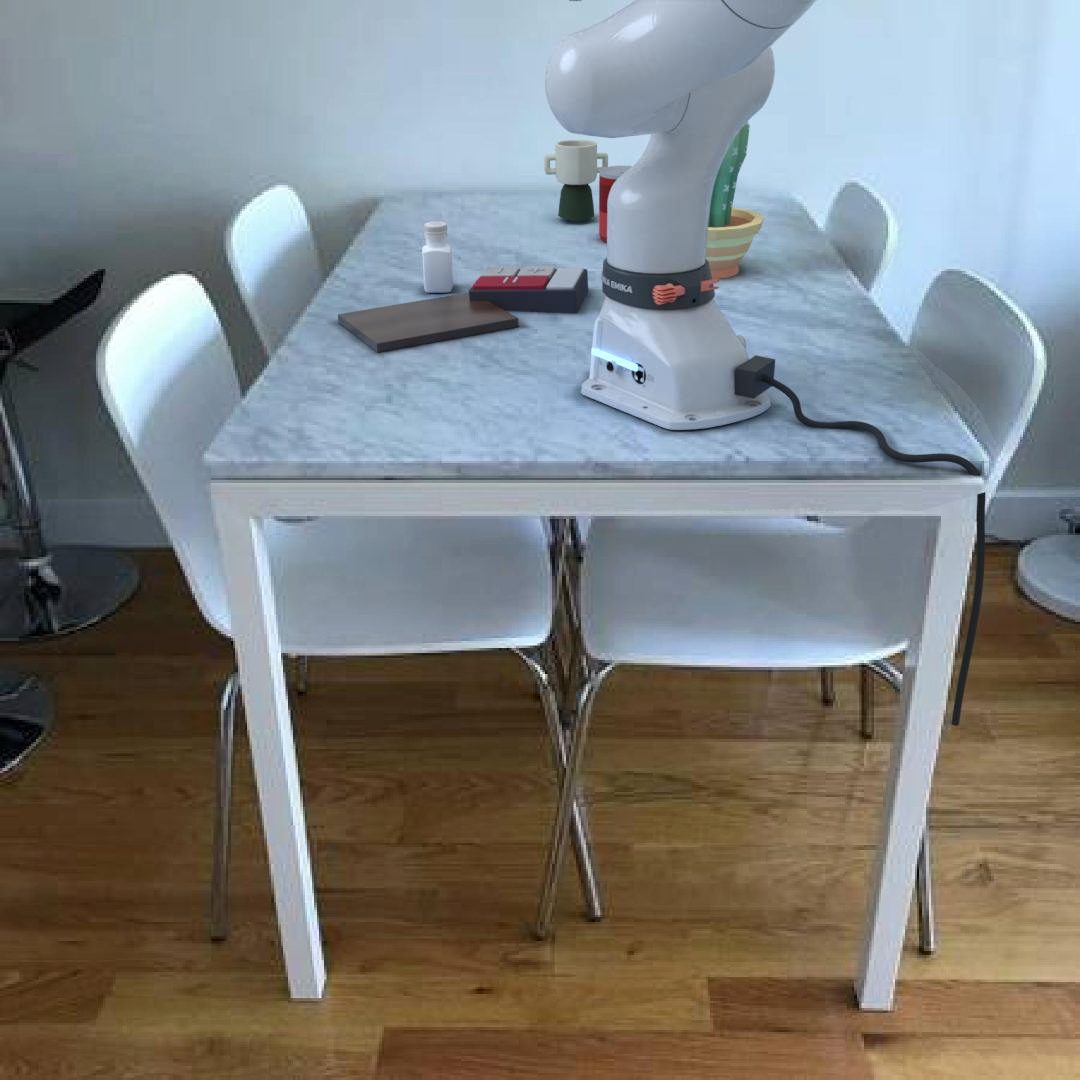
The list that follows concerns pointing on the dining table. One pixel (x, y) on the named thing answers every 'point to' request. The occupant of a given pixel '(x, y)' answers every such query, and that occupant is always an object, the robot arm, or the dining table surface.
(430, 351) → the dining table surface
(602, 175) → the canned food
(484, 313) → the board
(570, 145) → the trophy
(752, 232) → the potted cactus
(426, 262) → the pepper shaker
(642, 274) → the robot arm
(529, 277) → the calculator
